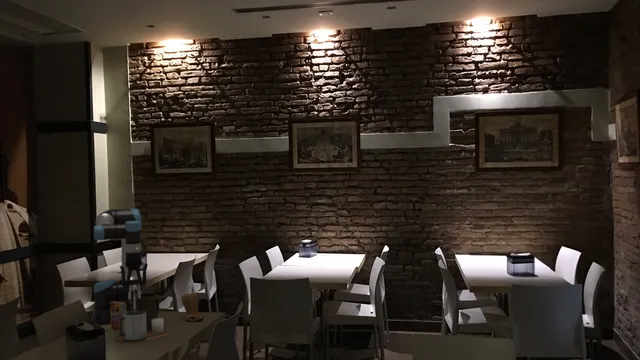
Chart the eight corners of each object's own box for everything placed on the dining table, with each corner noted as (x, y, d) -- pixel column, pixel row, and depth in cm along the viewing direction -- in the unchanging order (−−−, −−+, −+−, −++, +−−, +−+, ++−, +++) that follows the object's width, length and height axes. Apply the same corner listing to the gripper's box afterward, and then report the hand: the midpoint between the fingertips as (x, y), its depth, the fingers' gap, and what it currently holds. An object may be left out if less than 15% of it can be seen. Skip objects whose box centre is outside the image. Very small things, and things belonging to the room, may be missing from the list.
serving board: (114, 340, 283) (114, 337, 283) (161, 332, 296) (161, 329, 296) (122, 348, 270) (122, 344, 270) (171, 339, 282) (171, 336, 282)
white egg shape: (150, 332, 291) (150, 319, 291) (161, 330, 294) (161, 317, 294) (153, 335, 286) (153, 321, 286) (165, 333, 289) (165, 319, 289)
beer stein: (150, 334, 292) (151, 296, 293) (132, 333, 294) (132, 295, 295) (164, 328, 307) (165, 292, 308) (146, 328, 309) (147, 291, 310)
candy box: (110, 330, 302) (109, 302, 302) (117, 328, 306) (116, 300, 306) (120, 332, 297) (120, 304, 297) (127, 330, 301) (126, 302, 301)
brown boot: (183, 316, 330) (182, 291, 330) (203, 315, 332) (203, 290, 332) (179, 322, 315) (179, 296, 315) (201, 321, 317) (200, 295, 317)
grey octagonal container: (117, 338, 280) (116, 312, 280) (143, 334, 287) (142, 309, 287) (122, 343, 271) (121, 317, 271) (149, 339, 278) (148, 313, 278)
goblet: (125, 325, 281) (124, 285, 281) (140, 322, 285) (140, 283, 285) (128, 328, 274) (128, 287, 274) (144, 325, 279) (144, 285, 278)
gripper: (117, 254, 272) (118, 302, 272) (152, 251, 281) (153, 297, 281) (114, 252, 278) (115, 299, 278) (148, 249, 287) (149, 295, 287)
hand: (134, 298), depth 280 cm, fingers closed on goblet, 4 cm apart
